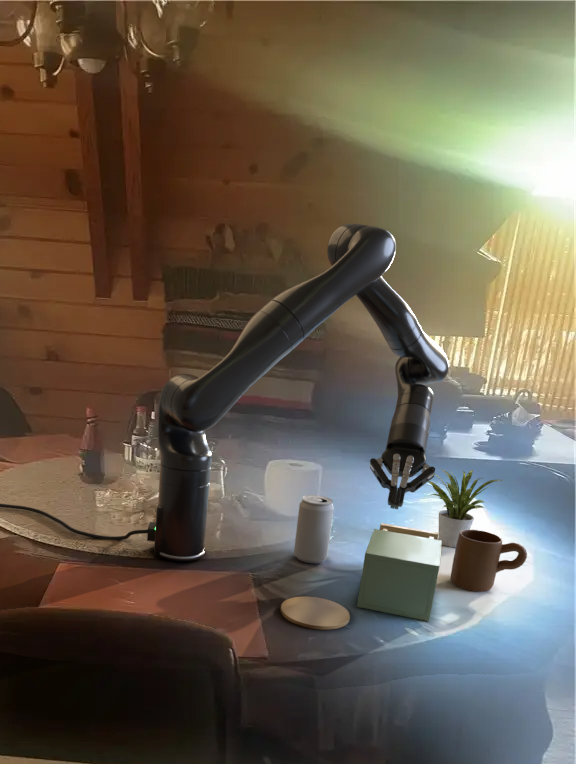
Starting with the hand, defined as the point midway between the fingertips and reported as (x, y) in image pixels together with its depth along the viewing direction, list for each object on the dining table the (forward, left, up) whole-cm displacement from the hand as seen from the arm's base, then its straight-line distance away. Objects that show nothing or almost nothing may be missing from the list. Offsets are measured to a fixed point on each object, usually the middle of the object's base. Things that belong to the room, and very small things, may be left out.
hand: (394, 506), depth 144 cm
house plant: (+18, +15, -11) cm, 26 cm away
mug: (+16, -9, -11) cm, 22 cm away
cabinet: (-2, -18, -11) cm, 21 cm away
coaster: (-17, -27, -11) cm, 34 cm away
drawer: (0, -10, -10) cm, 14 cm away
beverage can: (-15, -2, -11) cm, 19 cm away
